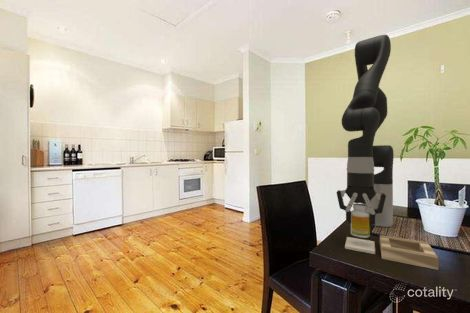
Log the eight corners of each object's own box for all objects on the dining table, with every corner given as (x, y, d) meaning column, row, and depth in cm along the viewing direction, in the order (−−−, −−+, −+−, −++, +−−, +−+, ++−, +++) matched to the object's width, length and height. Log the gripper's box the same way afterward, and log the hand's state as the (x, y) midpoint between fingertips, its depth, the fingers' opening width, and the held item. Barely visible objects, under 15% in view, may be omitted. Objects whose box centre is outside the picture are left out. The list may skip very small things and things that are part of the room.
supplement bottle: (372, 238, 68) (373, 206, 68) (353, 237, 69) (353, 206, 69) (366, 232, 73) (366, 203, 73) (348, 231, 75) (348, 202, 75)
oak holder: (379, 244, 73) (379, 235, 73) (427, 252, 67) (427, 242, 67) (381, 258, 63) (381, 248, 63) (438, 269, 57) (438, 258, 57)
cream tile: (347, 239, 77) (347, 236, 77) (374, 243, 73) (374, 241, 73) (344, 248, 70) (344, 246, 70) (375, 254, 66) (375, 251, 66)
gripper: (386, 171, 71) (386, 224, 71) (336, 170, 78) (336, 218, 78) (388, 172, 65) (388, 231, 65) (334, 171, 72) (334, 223, 72)
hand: (360, 224), depth 71 cm, fingers closed on supplement bottle, 5 cm apart
